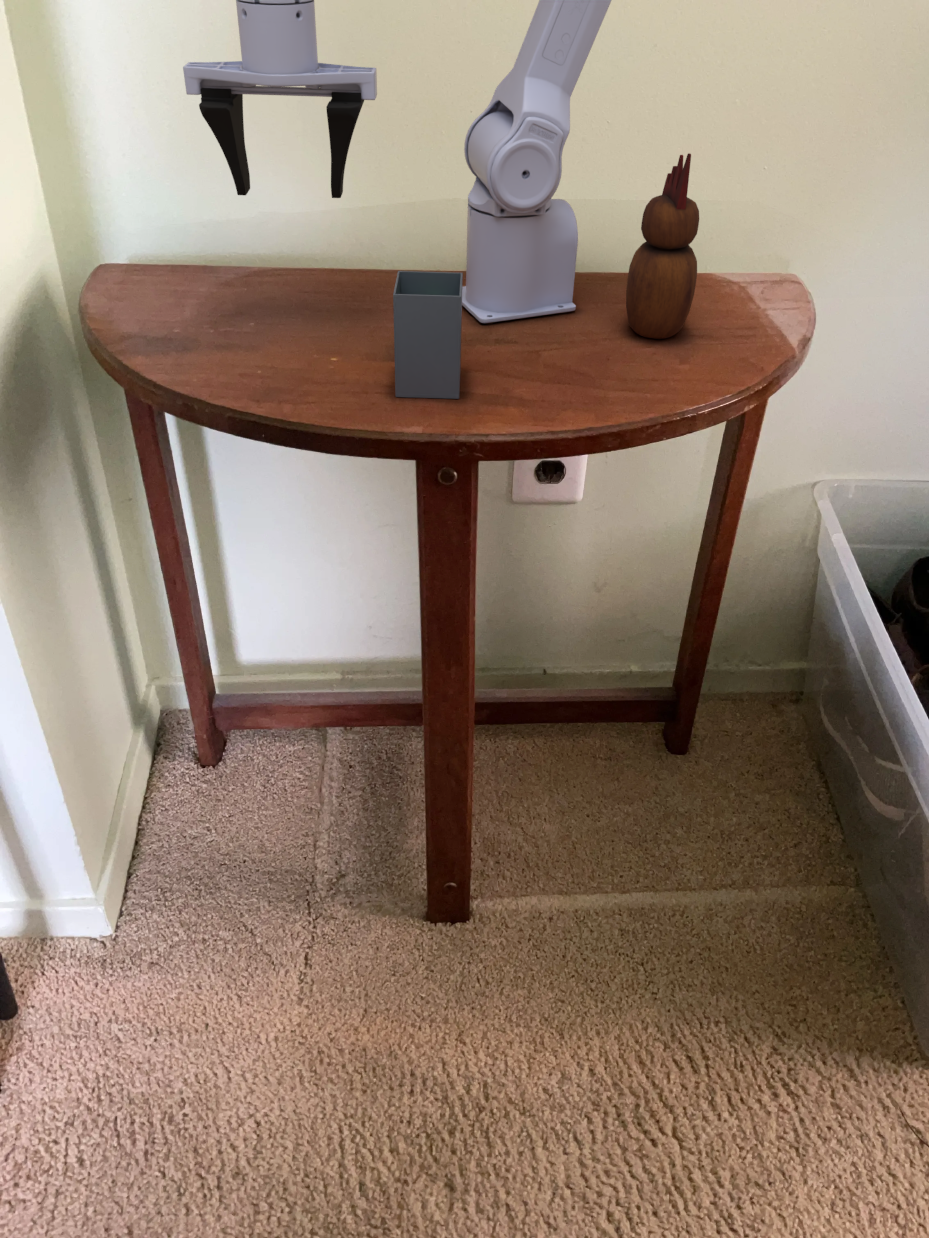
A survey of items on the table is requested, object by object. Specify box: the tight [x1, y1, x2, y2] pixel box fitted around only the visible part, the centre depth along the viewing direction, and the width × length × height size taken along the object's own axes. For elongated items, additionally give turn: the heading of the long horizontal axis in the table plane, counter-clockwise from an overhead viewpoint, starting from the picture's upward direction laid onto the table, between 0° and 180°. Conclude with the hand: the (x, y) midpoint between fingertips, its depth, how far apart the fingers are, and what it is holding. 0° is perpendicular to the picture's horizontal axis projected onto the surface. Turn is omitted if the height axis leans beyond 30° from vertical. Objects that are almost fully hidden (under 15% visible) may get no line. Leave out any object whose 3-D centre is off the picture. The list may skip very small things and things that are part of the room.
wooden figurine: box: [625, 153, 700, 340], centre depth 82 cm, size 7×6×15 cm
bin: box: [392, 270, 464, 400], centre depth 75 cm, size 5×5×8 cm
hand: (290, 193), depth 81 cm, fingers open, 7 cm apart
